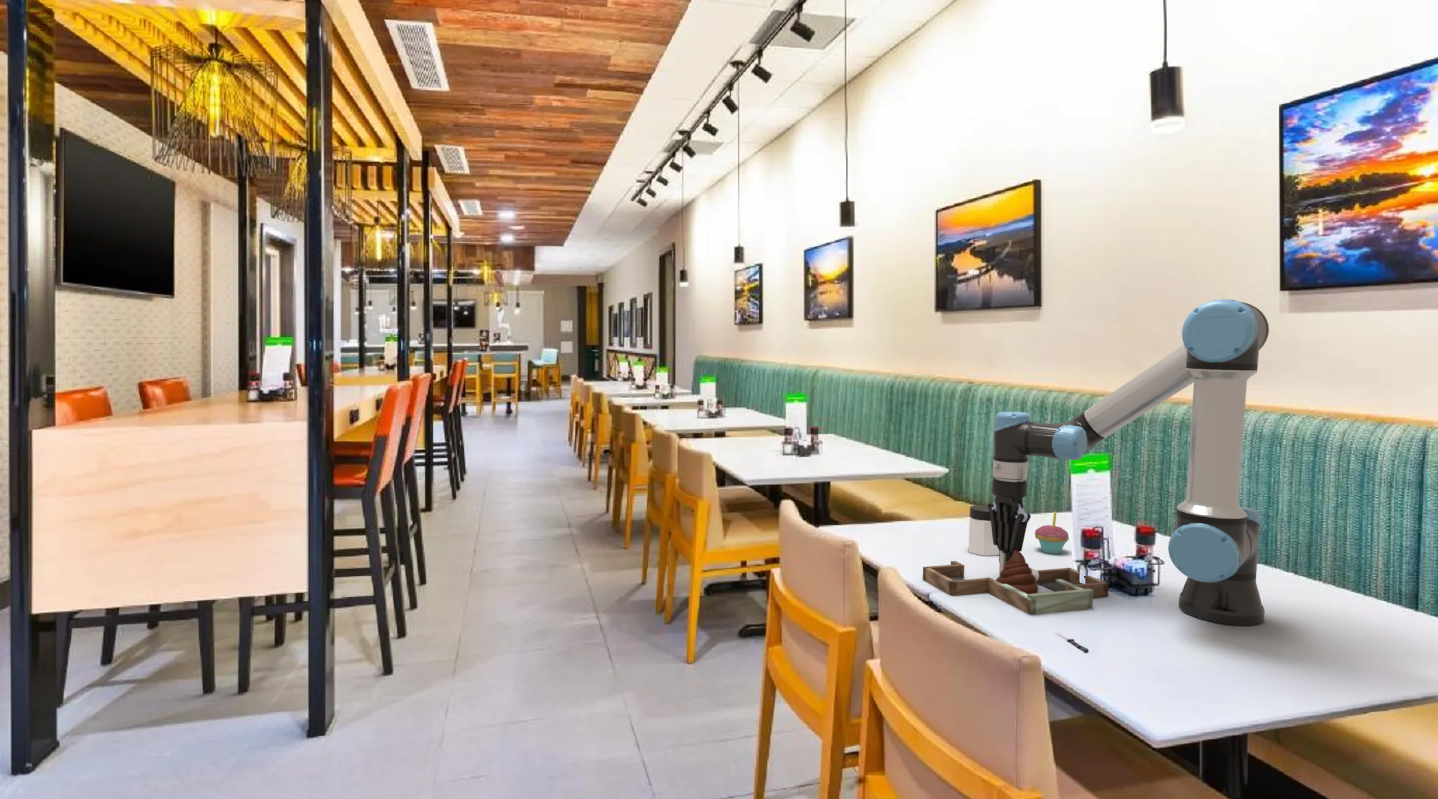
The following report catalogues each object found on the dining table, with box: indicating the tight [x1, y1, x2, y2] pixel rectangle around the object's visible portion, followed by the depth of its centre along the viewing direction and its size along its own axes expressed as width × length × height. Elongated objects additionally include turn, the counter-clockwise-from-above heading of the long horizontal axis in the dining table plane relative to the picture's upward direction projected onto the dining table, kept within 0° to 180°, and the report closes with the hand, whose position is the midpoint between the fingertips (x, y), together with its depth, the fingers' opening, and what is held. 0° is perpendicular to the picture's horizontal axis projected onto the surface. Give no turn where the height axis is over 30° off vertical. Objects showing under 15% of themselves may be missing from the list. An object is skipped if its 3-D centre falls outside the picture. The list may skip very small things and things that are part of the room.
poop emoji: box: [995, 550, 1039, 594], centre depth 176 cm, size 10×8×9 cm
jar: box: [968, 504, 999, 557], centre depth 210 cm, size 9×8×12 cm
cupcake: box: [1034, 509, 1070, 555], centre depth 211 cm, size 9×8×12 cm
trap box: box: [922, 560, 1110, 616], centre depth 178 cm, size 30×34×4 cm
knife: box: [1054, 632, 1089, 653], centre depth 152 cm, size 19×2×1 cm, turn 16°
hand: (1005, 578), depth 182 cm, fingers closed
